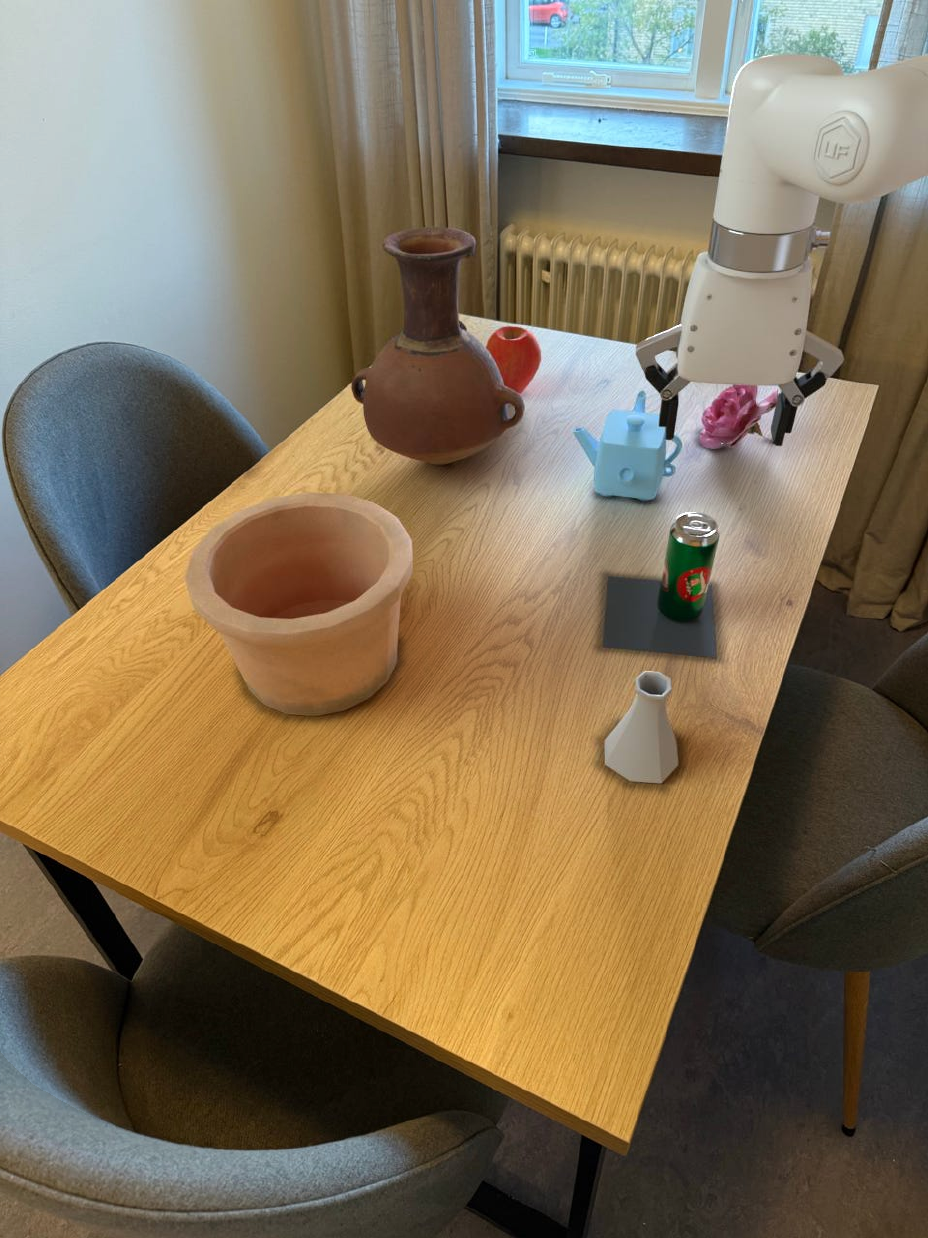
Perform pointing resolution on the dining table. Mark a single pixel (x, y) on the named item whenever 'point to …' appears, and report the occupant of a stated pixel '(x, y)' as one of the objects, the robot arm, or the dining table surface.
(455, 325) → the vase
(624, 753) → the flask
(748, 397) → the flower
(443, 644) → the dining table surface
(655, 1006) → the dining table surface
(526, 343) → the apple
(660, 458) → the teapot
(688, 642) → the mat
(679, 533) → the soda can
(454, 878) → the dining table surface
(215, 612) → the pottery
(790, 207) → the robot arm
